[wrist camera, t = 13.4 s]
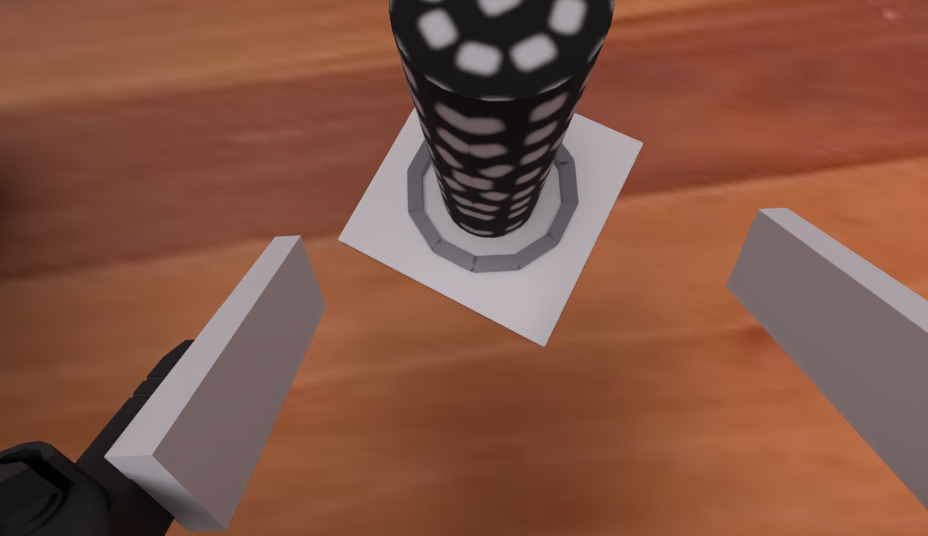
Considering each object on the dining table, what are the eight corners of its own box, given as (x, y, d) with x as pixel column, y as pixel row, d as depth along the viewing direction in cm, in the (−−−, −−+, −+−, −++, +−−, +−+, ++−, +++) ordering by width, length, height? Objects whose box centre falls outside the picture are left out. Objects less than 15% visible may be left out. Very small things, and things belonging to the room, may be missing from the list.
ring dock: (341, 242, 35) (332, 236, 33) (445, 63, 37) (443, 46, 35) (542, 347, 33) (547, 347, 30) (638, 148, 35) (649, 136, 33)
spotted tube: (469, 254, 33) (450, 140, 13) (427, 174, 35) (353, -37, 15) (554, 211, 33) (658, 36, 14) (509, 132, 35) (543, -128, 15)
